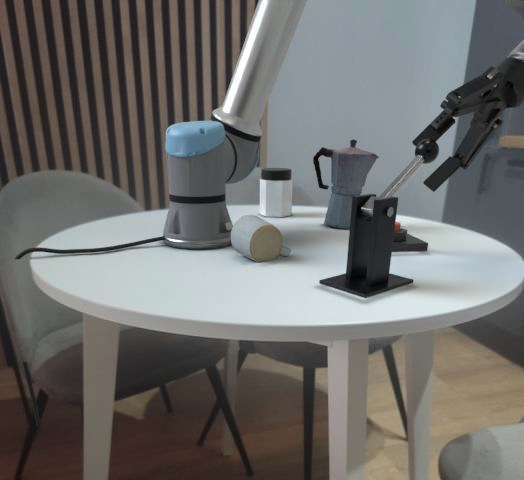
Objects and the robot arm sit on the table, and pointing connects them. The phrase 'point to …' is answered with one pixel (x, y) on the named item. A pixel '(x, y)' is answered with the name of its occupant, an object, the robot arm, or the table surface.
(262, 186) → the jar
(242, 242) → the ceramic mug
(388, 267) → the bracket
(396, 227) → the button
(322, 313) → the table surface
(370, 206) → the lever
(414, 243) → the control block
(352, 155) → the moka pot
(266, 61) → the robot arm
